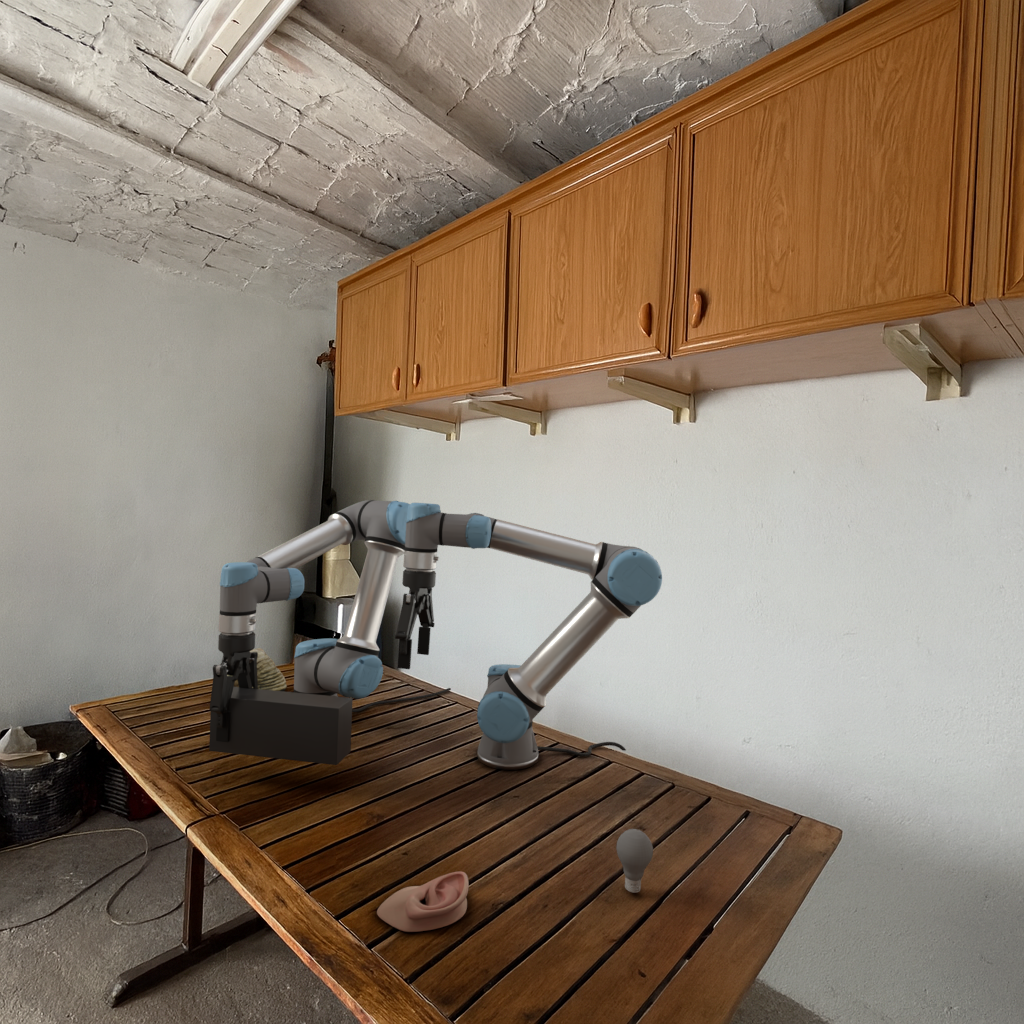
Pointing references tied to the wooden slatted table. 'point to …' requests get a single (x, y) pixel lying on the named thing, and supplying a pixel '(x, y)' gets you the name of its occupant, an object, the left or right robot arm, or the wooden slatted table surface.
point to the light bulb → (634, 857)
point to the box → (286, 726)
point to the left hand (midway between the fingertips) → (233, 734)
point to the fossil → (267, 673)
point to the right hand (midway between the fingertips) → (413, 661)
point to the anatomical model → (427, 904)
